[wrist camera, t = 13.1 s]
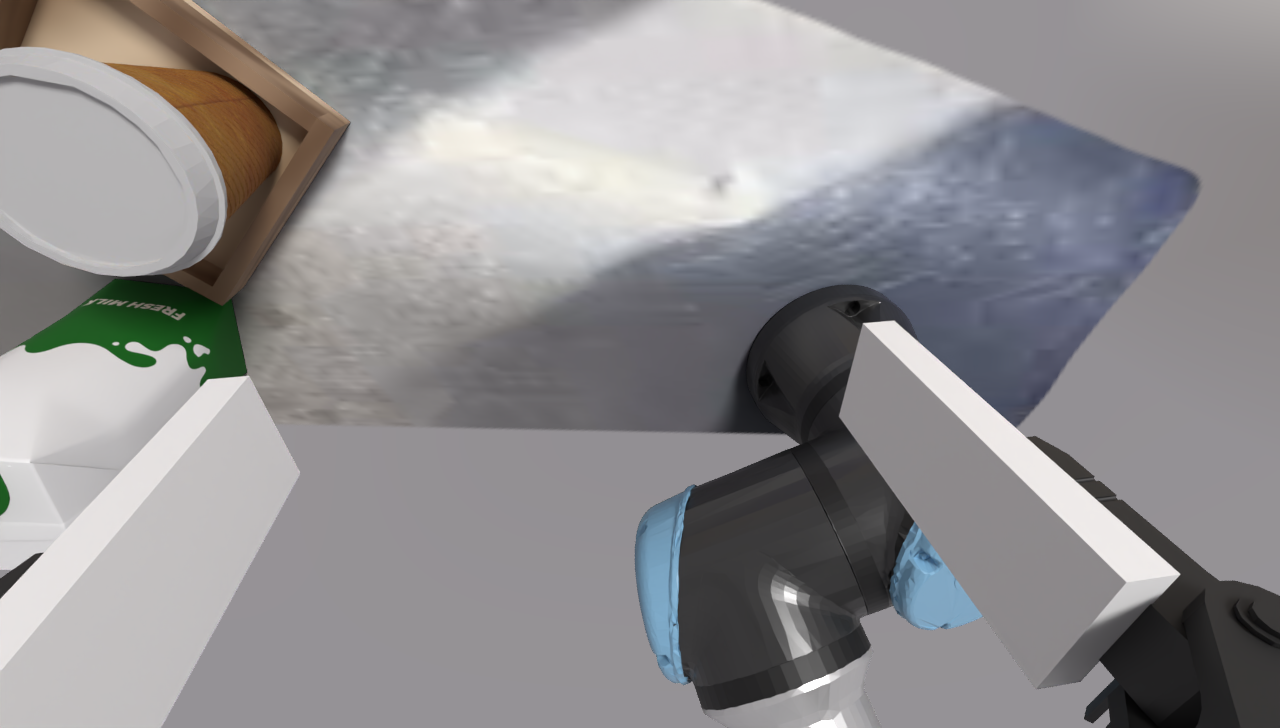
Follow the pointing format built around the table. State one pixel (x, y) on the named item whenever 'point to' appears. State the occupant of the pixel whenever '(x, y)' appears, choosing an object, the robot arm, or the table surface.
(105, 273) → the disposable coffee cup
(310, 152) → the wooden tray
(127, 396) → the milk carton
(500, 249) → the table surface
